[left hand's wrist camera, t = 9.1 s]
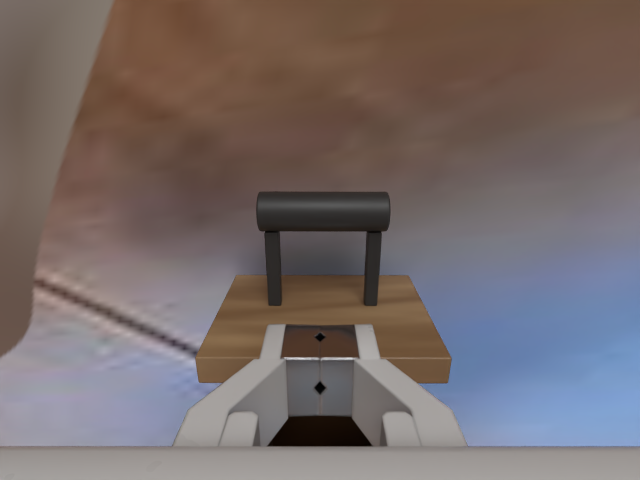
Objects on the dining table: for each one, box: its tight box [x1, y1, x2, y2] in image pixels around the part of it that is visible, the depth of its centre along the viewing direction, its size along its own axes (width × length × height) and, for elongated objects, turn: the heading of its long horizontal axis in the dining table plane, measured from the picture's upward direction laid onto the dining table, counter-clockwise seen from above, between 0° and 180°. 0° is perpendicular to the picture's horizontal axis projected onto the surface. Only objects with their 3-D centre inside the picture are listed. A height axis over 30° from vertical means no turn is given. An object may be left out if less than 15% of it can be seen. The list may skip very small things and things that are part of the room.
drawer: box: [195, 192, 452, 446], centre depth 19 cm, size 24×10×7 cm, turn 0°
